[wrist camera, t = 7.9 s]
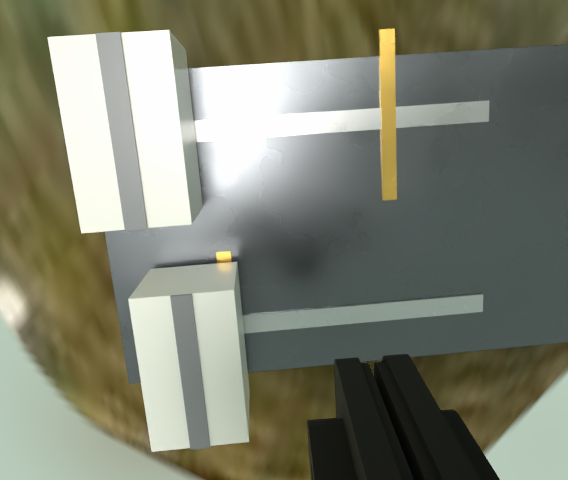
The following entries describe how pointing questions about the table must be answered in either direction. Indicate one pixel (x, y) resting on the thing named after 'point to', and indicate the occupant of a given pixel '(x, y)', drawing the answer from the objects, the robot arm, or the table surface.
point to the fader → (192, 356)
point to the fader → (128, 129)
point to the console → (376, 204)
